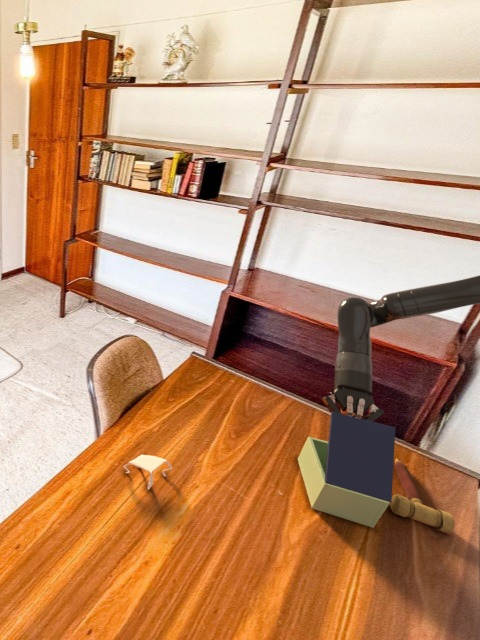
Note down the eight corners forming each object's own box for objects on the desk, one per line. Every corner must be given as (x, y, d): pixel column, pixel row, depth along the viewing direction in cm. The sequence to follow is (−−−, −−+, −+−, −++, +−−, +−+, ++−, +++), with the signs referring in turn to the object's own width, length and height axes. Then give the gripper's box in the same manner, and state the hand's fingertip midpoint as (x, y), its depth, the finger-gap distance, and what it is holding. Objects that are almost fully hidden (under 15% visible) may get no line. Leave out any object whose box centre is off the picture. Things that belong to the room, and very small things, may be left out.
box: (297, 459, 110) (308, 436, 106) (350, 474, 106) (364, 451, 102) (311, 508, 97) (324, 484, 93) (373, 528, 93) (389, 503, 89)
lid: (330, 411, 97) (332, 411, 96) (393, 427, 93) (395, 427, 92) (324, 482, 93) (326, 483, 92) (389, 501, 89) (391, 502, 88)
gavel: (377, 446, 111) (423, 461, 107) (371, 458, 113) (416, 473, 108) (401, 504, 93) (458, 524, 89) (393, 517, 95) (448, 538, 91)
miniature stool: (139, 496, 98) (142, 483, 96) (120, 469, 105) (123, 456, 103) (177, 482, 102) (181, 469, 100) (157, 457, 109) (160, 444, 107)
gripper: (375, 381, 104) (374, 449, 99) (317, 368, 108) (313, 432, 103) (392, 377, 97) (392, 450, 92) (330, 363, 101) (326, 432, 96)
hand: (350, 440), depth 98 cm, fingers closed
